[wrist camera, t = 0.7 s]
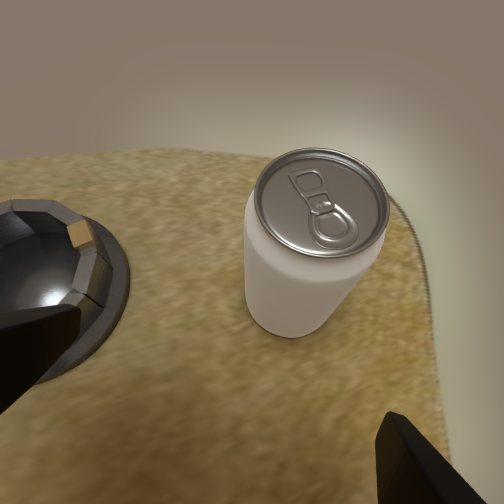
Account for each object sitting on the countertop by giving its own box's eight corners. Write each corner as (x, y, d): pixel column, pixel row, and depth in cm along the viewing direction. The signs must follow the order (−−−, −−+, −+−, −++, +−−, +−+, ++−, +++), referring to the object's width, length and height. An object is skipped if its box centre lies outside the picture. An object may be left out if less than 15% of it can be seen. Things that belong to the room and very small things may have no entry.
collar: (155, 327, 23) (135, 307, 19) (-46, 428, 20) (-123, 431, 15) (101, 196, 28) (75, 158, 24) (-65, 260, 25) (-127, 229, 21)
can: (261, 352, 22) (275, 290, 11) (234, 270, 25) (224, 158, 14) (346, 322, 23) (432, 240, 12) (310, 247, 26) (355, 127, 15)
